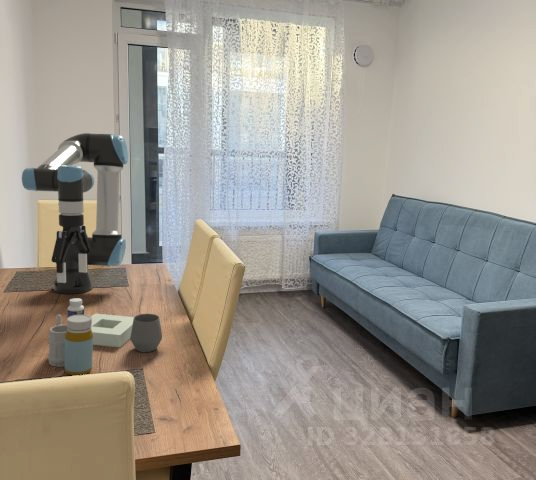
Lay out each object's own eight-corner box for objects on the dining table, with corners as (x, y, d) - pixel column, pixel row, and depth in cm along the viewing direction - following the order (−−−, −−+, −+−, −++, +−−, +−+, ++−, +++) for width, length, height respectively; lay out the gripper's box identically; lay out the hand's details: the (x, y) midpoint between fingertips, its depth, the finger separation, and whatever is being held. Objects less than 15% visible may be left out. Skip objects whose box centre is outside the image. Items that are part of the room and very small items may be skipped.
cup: (146, 357, 147) (146, 325, 145) (123, 349, 151) (123, 318, 150) (168, 347, 155) (168, 317, 153) (146, 340, 159) (146, 310, 158)
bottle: (68, 364, 139) (69, 313, 136) (94, 365, 140) (95, 314, 137) (61, 376, 132) (62, 322, 130) (88, 376, 133) (90, 323, 131)
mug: (49, 369, 136) (48, 327, 134) (44, 353, 146) (43, 314, 144) (79, 364, 140) (78, 324, 138) (72, 349, 150) (71, 310, 148)
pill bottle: (78, 328, 166) (78, 303, 165) (64, 326, 167) (63, 301, 166) (87, 323, 172) (87, 298, 170) (73, 321, 173) (73, 296, 171)
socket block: (95, 324, 171) (95, 313, 170) (140, 329, 169) (140, 317, 168) (71, 342, 155) (70, 329, 154) (120, 347, 153) (120, 335, 152)
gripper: (79, 208, 175) (81, 267, 179) (37, 217, 150) (40, 285, 154) (100, 209, 174) (100, 269, 178) (61, 219, 149) (62, 288, 153)
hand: (72, 277), depth 166 cm, fingers open, 13 cm apart
